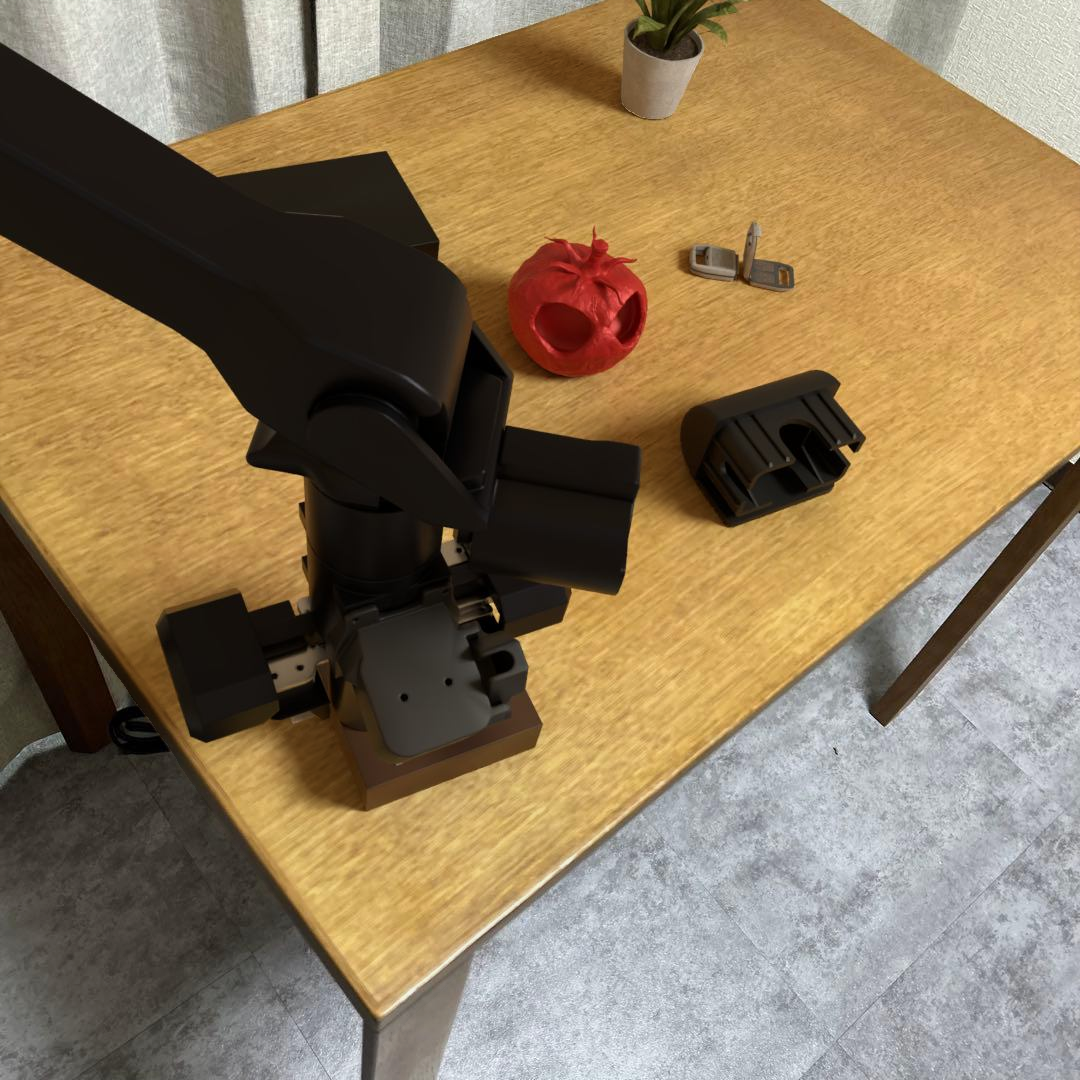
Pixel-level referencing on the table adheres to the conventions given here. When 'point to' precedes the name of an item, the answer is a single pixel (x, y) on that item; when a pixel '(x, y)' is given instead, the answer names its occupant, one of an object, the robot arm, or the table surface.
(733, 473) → the end cap
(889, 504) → the table surface
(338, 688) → the dial knob
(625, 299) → the red hollow tomato
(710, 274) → the strap clip
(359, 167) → the black rectangular slab
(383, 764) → the knob panel
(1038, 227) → the table surface
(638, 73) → the house plant
